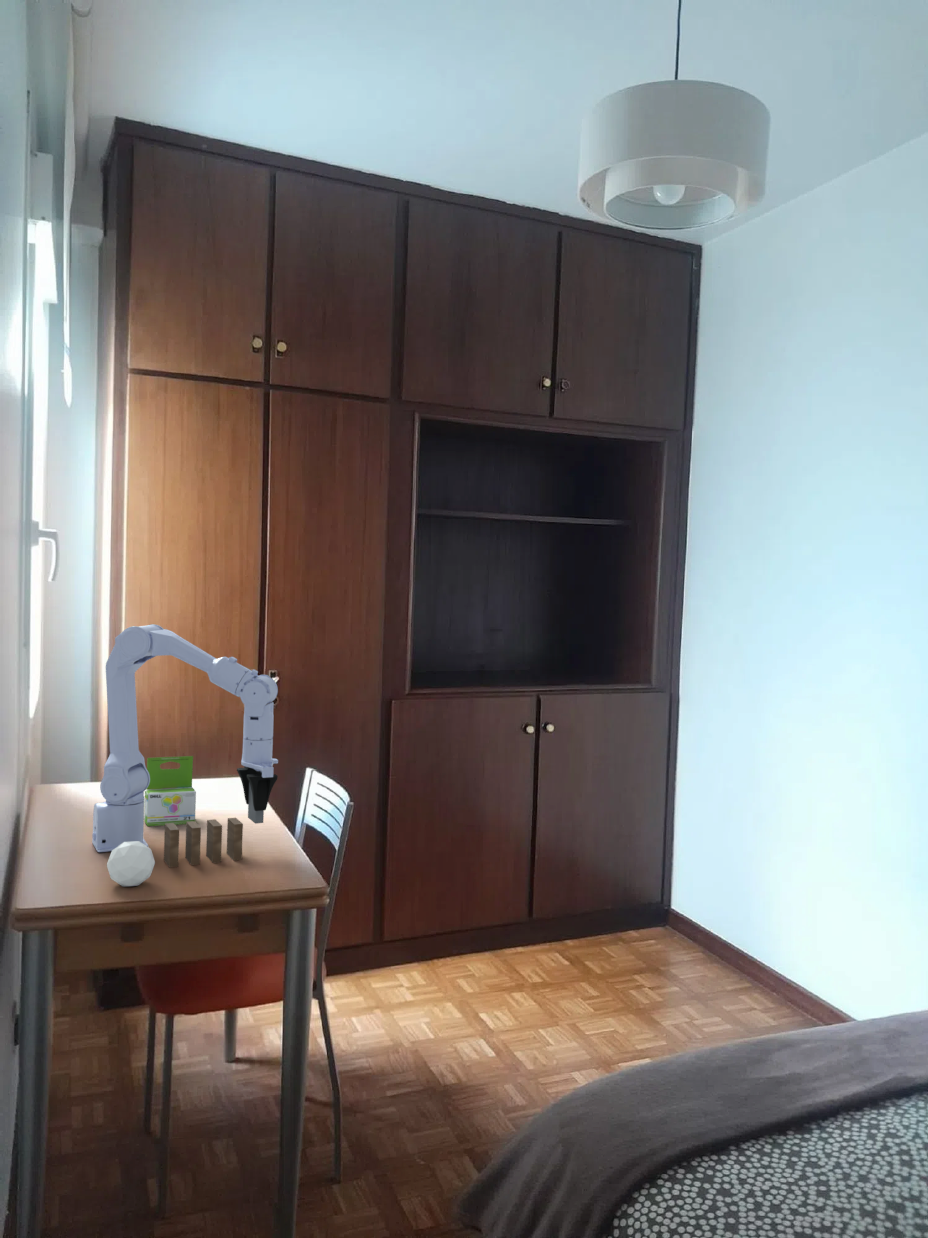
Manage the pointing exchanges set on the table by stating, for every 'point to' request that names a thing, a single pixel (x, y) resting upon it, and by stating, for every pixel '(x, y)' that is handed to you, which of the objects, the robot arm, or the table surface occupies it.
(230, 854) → the domino
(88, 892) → the table surface
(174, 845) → the domino
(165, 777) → the ink box
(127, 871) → the geometric ball
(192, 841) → the domino
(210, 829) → the domino
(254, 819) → the domino
